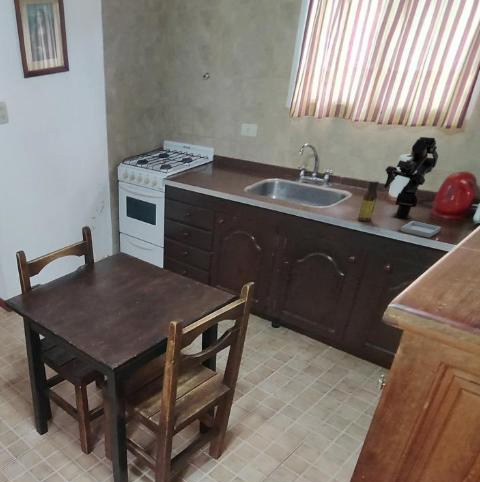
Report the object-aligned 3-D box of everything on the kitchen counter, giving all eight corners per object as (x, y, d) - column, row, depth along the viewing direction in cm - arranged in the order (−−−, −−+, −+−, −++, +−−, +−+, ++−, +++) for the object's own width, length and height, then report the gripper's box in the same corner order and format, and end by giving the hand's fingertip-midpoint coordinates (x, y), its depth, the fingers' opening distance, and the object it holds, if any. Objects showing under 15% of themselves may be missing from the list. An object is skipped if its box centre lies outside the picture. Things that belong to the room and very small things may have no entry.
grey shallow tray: (411, 225, 241) (412, 220, 239) (439, 231, 232) (441, 227, 231) (400, 231, 234) (401, 226, 233) (428, 237, 226) (430, 233, 225)
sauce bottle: (372, 221, 247) (383, 182, 235) (359, 221, 248) (370, 182, 237) (368, 217, 252) (379, 179, 241) (356, 217, 253) (366, 179, 242)
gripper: (393, 149, 234) (371, 177, 238) (428, 157, 221) (404, 187, 225) (400, 161, 241) (378, 188, 245) (434, 170, 228) (411, 198, 232)
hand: (392, 190), depth 237 cm, fingers open, 9 cm apart
